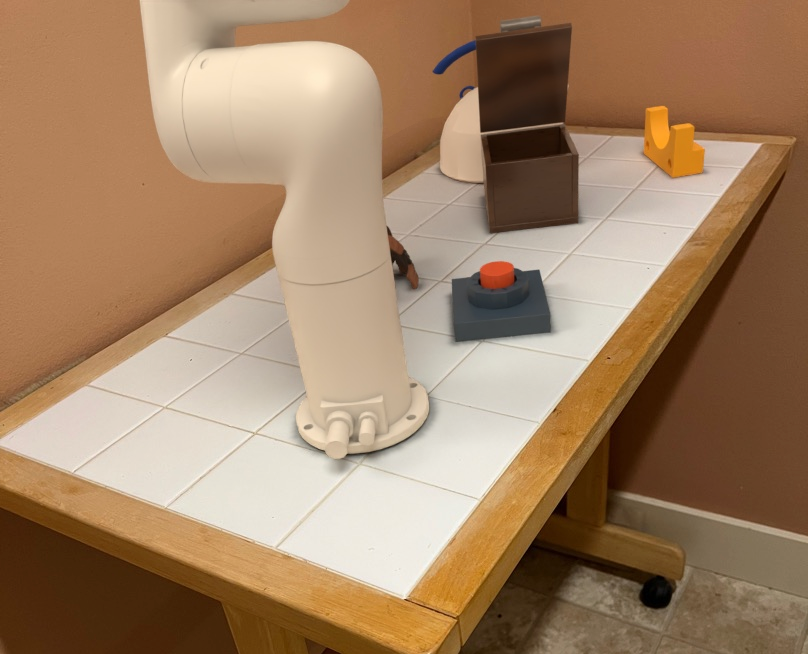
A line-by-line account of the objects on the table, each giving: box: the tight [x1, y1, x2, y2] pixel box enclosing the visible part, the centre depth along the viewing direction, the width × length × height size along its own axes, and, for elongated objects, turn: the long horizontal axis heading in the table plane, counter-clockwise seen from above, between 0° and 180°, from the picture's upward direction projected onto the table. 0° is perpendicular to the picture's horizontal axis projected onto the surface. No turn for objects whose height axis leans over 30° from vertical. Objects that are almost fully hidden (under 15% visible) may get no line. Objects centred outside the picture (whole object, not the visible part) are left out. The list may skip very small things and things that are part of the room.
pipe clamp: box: [643, 105, 706, 179], centre depth 117 cm, size 12×4×6 cm, turn 6°
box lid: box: [474, 14, 573, 133], centre depth 106 cm, size 14×12×5 cm
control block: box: [451, 267, 552, 343], centre depth 88 cm, size 11×10×4 cm
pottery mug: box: [386, 224, 419, 290], centre depth 98 cm, size 12×10×8 cm
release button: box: [479, 260, 515, 289], centre depth 87 cm, size 4×4×2 cm
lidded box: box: [481, 123, 580, 234], centre depth 109 cm, size 14×12×9 cm
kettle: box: [432, 39, 570, 184], centre depth 124 cm, size 20×21×18 cm
